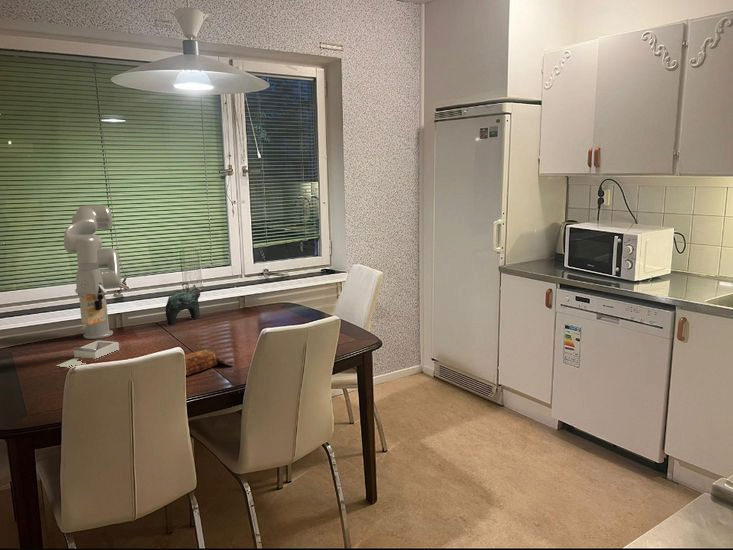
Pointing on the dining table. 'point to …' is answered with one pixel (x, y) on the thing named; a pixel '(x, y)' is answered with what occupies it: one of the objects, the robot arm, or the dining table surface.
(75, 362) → the mat
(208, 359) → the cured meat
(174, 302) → the green horse figurine
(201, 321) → the dining table surface
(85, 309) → the supplement box
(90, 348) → the white shallow tray
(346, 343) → the dining table surface
